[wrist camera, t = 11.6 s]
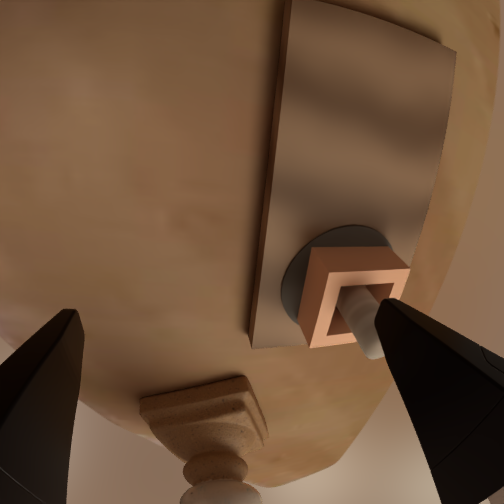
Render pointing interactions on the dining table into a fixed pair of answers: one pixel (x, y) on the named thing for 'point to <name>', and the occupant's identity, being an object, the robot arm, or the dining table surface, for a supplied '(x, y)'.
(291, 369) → the dining table surface
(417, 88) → the post board
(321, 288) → the collar
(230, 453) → the candle holder
